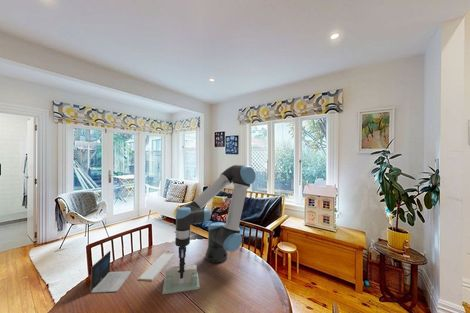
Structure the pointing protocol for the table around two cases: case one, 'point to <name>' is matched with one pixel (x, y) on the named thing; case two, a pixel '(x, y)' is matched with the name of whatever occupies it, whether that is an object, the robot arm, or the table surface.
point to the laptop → (106, 276)
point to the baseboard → (156, 267)
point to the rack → (181, 285)
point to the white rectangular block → (175, 274)
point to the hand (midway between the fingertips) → (181, 280)
